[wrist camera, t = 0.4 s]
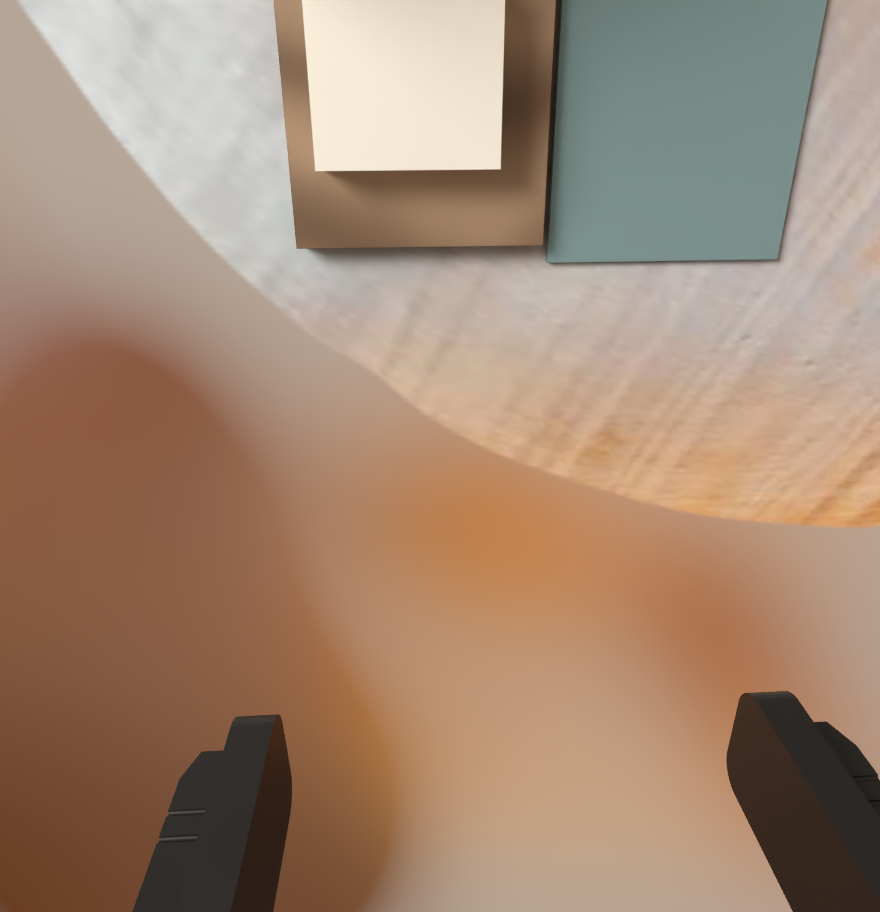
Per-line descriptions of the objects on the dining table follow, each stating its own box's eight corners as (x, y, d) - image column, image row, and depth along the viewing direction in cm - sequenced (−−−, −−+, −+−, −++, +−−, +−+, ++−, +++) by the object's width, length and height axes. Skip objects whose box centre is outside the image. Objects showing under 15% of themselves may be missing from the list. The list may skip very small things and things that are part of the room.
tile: (308, -12, 28) (299, -26, 26) (497, -12, 29) (505, -26, 26) (322, 169, 31) (315, 171, 29) (493, 167, 31) (500, 169, 29)
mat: (567, -132, 28) (570, -136, 28) (847, -130, 29) (853, -134, 28) (546, 261, 35) (547, 262, 34) (773, 258, 35) (777, 259, 35)
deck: (269, -104, 28) (262, -117, 27) (554, -102, 29) (562, -115, 27) (301, 244, 34) (296, 248, 32) (537, 241, 34) (542, 245, 33)
